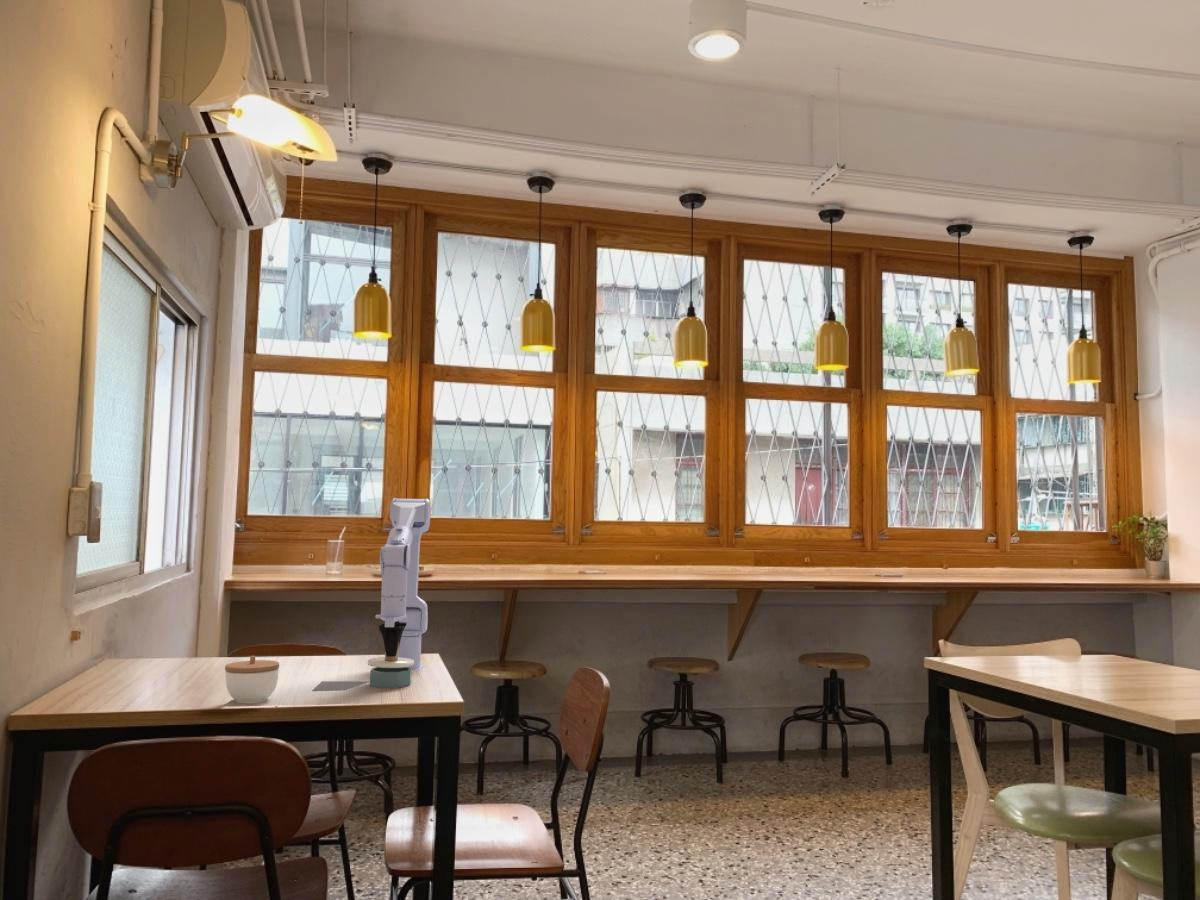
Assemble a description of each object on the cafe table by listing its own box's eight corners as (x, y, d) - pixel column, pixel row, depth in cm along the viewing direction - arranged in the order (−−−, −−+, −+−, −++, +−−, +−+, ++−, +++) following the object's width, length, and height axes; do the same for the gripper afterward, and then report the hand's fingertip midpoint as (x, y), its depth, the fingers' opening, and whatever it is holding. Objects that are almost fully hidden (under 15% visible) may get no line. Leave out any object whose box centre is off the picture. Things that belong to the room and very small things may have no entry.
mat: (321, 683, 214) (321, 681, 214) (369, 683, 215) (369, 681, 215) (311, 692, 203) (312, 690, 203) (362, 692, 204) (362, 690, 204)
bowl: (373, 683, 215) (374, 665, 216) (412, 682, 216) (413, 665, 217) (368, 690, 206) (368, 672, 207) (408, 690, 207) (409, 672, 208)
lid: (370, 659, 216) (372, 637, 217) (415, 660, 218) (417, 638, 218) (364, 667, 206) (366, 643, 206) (411, 668, 207) (413, 645, 208)
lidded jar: (287, 696, 198) (288, 652, 198) (264, 706, 187) (265, 660, 188) (239, 695, 199) (240, 652, 199) (214, 705, 188) (215, 659, 189)
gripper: (380, 593, 220) (378, 650, 219) (372, 598, 205) (369, 660, 204) (410, 593, 220) (408, 650, 219) (403, 599, 206) (401, 660, 205)
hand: (391, 655), depth 212 cm, fingers closed on lid, 3 cm apart
